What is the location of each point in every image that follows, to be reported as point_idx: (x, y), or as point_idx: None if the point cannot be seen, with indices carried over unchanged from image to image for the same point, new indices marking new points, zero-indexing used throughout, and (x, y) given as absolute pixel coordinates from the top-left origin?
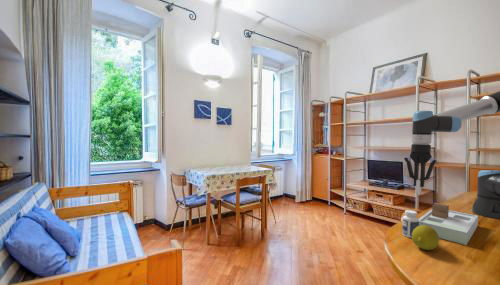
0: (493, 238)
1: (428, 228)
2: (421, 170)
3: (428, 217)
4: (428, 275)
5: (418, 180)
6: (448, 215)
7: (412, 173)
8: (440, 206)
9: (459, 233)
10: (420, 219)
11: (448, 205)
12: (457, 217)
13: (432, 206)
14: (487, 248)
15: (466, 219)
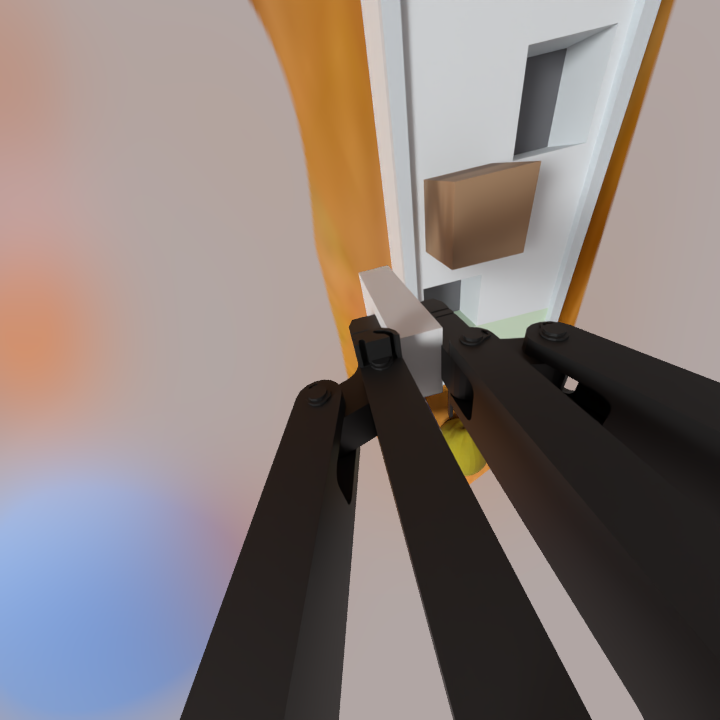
0: (615, 176)
1: (479, 469)
2: (554, 542)
3: (423, 297)
4: (472, 475)
5: (424, 396)
6: (491, 136)
7: (328, 447)
8: (493, 259)
9: None
10: None
11: (539, 169)
12: (530, 47)
13: (448, 266)
14: (564, 311)
15: (577, 37)
